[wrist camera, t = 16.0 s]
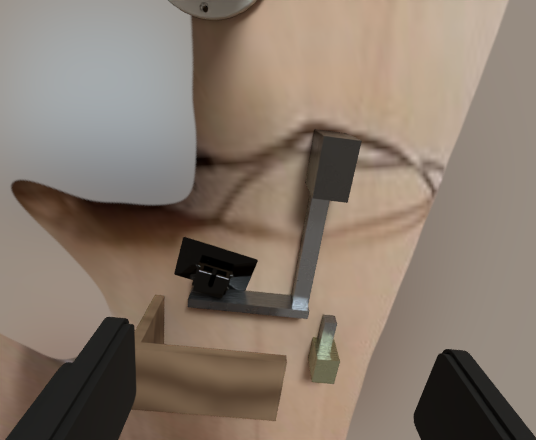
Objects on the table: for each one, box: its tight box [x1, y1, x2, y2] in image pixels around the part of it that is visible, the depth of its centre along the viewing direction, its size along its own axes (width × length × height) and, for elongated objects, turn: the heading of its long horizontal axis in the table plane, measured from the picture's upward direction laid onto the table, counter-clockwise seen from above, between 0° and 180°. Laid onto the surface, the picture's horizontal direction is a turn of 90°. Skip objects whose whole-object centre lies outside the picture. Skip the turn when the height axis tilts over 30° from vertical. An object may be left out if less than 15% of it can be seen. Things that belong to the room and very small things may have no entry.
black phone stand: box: [174, 237, 258, 299], centre depth 39 cm, size 12×7×5 cm, turn 70°
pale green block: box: [308, 315, 340, 384], centre depth 43 cm, size 8×3×4 cm, turn 173°
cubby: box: [131, 295, 287, 421], centre depth 40 cm, size 9×17×10 cm, turn 83°
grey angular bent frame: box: [188, 129, 361, 319], centre depth 36 cm, size 23×16×6 cm
